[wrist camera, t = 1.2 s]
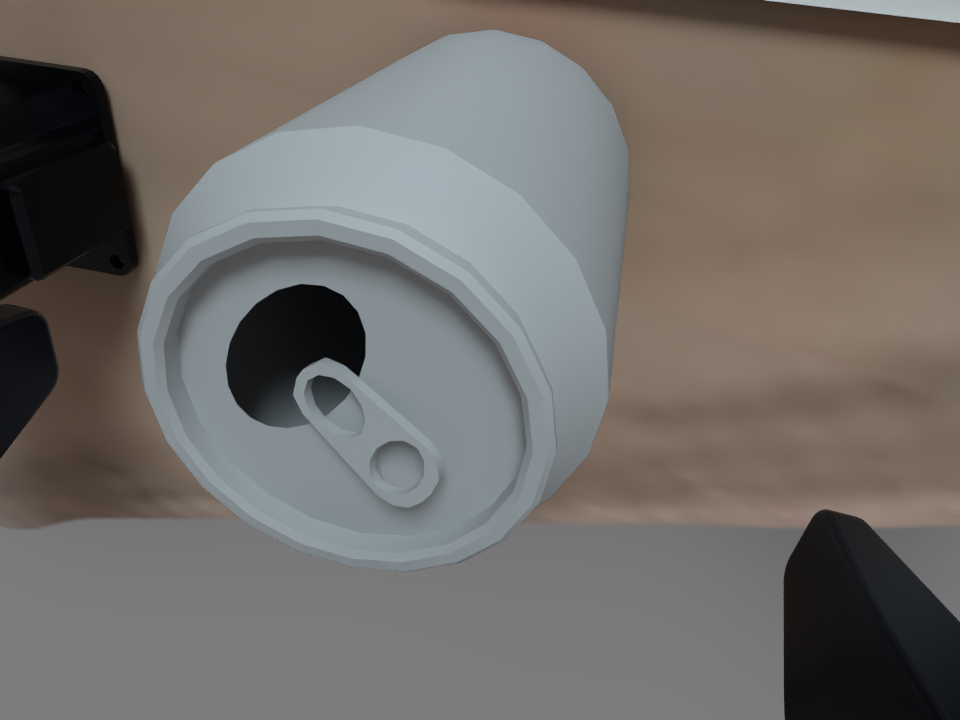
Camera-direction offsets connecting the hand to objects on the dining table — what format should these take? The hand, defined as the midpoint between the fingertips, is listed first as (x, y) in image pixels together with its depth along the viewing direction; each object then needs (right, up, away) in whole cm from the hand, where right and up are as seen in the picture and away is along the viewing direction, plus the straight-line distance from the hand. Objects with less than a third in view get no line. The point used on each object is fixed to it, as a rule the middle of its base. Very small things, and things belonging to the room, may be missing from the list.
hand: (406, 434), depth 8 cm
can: (+1, +6, +12) cm, 14 cm away
